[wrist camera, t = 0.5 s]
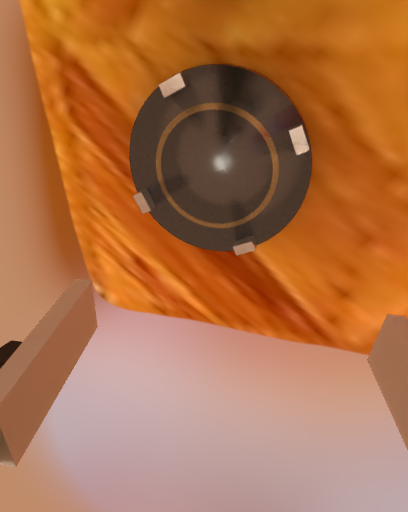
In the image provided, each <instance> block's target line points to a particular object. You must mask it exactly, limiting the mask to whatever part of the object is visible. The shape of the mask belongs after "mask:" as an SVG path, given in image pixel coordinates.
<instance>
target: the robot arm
mask: <svg viewBox="0 0 408 512" xmlns="http://www.w3.org/2000/svg"><path fill="white" fill-rule="evenodd" d="M96 328H97V320H96V311H95V303H94V295H93V287H92V280H83V279H75V280H74V281H73V282H72V283H71V284H70V286H69V287H68V288H67V289H66V291H65V292H64V293H63V294H62V295H61V297H60V298H59V299H58V300H57V301H56V303H55V304H54V305H53V306H52V308H51V309H50V310H49V311H48V312H47V313H46V315H45V316H44V317H43V318H42V319H41V321H40V322H39V323H38V324H37V326H36V327H35V328H34V329H33V330H32V331H31V333H30V334H29V335H28V336H27V337H26V339H25V340H24V341H23V342H19V341H10V342H8V343H7V344H5V345H4V346H2V347H1V348H0V465H5V466H13V467H16V466H17V464H18V463H19V461H20V459H21V458H22V456H23V454H24V453H25V451H26V449H27V447H28V446H29V444H30V442H31V440H32V439H33V437H34V435H35V434H36V432H37V430H38V428H39V427H40V425H41V423H42V421H43V420H44V418H45V416H46V415H47V413H48V411H49V409H50V408H51V406H52V404H53V402H54V401H55V399H56V397H57V396H58V394H59V392H60V390H61V389H62V387H63V385H64V384H65V382H66V380H67V378H68V377H69V375H70V373H71V371H72V370H73V368H74V366H75V365H76V363H77V361H78V359H79V357H80V356H81V354H82V352H83V351H84V349H85V347H86V346H87V344H88V342H89V340H90V339H91V337H92V335H93V334H94V332H95V330H96ZM367 360H368V363H369V364H370V367H371V369H372V371H373V374H374V376H375V378H376V380H377V383H378V385H379V387H380V389H381V391H382V394H383V396H384V398H385V400H386V403H387V405H388V407H389V409H390V412H391V414H392V416H393V418H394V420H395V422H396V425H397V427H398V429H399V432H400V434H401V436H402V438H403V441H404V443H405V445H406V447H407V449H408V319H407V318H406V316H398V315H389V314H387V316H386V318H385V321H384V323H383V325H382V327H381V330H380V332H379V334H378V337H377V339H376V341H375V343H374V346H373V348H372V350H371V353H370V355H369V357H368V359H367Z"/></svg>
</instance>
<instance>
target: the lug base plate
mask: <svg viewBox="0 0 408 512" xmlns="http://www.w3.org/2000/svg"><path fill="white" fill-rule="evenodd" d="M311 165H312V158H311V147H310V141H309V136H308V132H307V129H306V126H305V124H304V121H303V119H302V117H301V115H300V113H299V111H298V109H297V108H296V106H295V105H294V103H293V102H292V101H291V99H290V98H289V97H288V96H287V95H286V94H285V93H284V92H283V91H282V90H281V89H280V88H279V87H278V86H277V85H276V84H274V83H273V82H272V81H270V80H269V79H268V78H266V77H264V76H262V75H260V74H258V73H257V72H255V71H252V70H249V69H246V68H243V67H239V66H233V65H226V64H212V65H204V66H197V67H194V68H191V69H187V70H184V71H182V72H180V73H178V74H176V75H174V76H172V77H171V78H169V79H168V80H166V81H164V82H163V83H161V84H159V87H158V88H157V89H156V90H155V91H153V93H152V94H151V95H150V96H149V98H148V99H147V100H146V101H145V103H144V105H143V106H142V108H141V110H140V111H139V114H138V116H137V118H136V121H135V123H134V127H133V130H132V134H131V141H130V167H131V172H132V177H133V181H134V184H135V187H136V190H137V193H136V194H134V195H133V197H134V199H135V201H136V202H137V204H138V206H139V208H140V210H141V211H142V213H143V214H144V213H146V212H149V213H150V214H151V215H152V216H153V218H154V219H155V220H156V221H157V222H158V223H159V224H160V225H161V226H162V227H163V228H165V229H166V230H167V231H168V232H169V233H171V234H172V235H174V236H175V237H177V238H178V239H180V240H182V241H184V242H186V243H188V244H191V245H194V246H196V247H200V248H204V249H208V250H215V251H235V253H236V255H240V254H244V253H247V252H251V251H255V250H256V247H257V245H258V244H261V243H263V242H265V241H267V240H268V239H270V238H271V237H273V236H275V235H276V234H277V233H279V232H280V231H281V230H282V229H283V228H284V227H285V226H286V225H287V224H288V223H289V222H290V221H291V220H292V219H293V217H294V216H295V214H296V213H297V211H298V210H299V208H300V206H301V204H302V202H303V200H304V198H305V196H306V193H307V190H308V187H309V182H310V177H311Z"/></svg>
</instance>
